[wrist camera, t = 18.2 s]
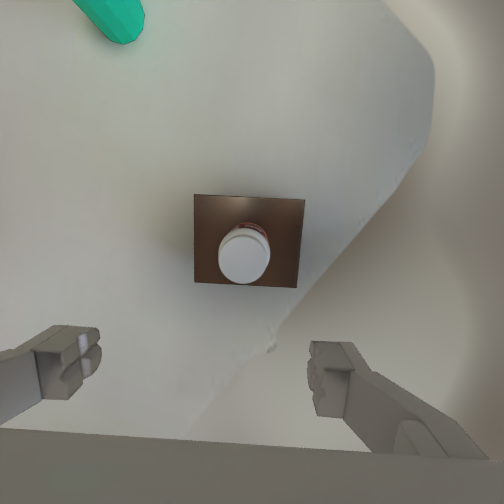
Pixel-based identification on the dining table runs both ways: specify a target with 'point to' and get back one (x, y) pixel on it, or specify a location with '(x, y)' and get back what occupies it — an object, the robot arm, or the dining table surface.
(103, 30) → the candle
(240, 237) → the pill bottle
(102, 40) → the dining table surface
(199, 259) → the walnut box
